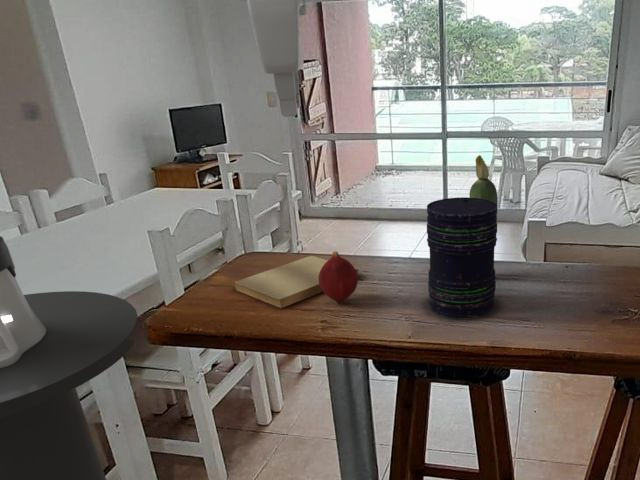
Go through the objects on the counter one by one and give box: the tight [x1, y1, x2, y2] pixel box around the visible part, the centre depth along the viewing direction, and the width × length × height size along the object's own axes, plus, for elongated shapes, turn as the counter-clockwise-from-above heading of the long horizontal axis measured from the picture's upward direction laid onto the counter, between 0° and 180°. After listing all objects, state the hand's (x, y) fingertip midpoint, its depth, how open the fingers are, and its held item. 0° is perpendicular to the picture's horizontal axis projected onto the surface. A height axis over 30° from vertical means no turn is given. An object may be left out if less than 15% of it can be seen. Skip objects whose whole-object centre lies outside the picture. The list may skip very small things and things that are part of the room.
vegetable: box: [469, 154, 499, 216], centre depth 90 cm, size 4×4×20 cm
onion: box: [318, 250, 359, 303], centre depth 86 cm, size 6×6×8 cm
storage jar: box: [426, 196, 498, 320], centre depth 82 cm, size 10×10×15 cm
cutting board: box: [234, 255, 359, 309], centre depth 94 cm, size 16×12×2 cm
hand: (292, 112), depth 70 cm, fingers open, 8 cm apart
